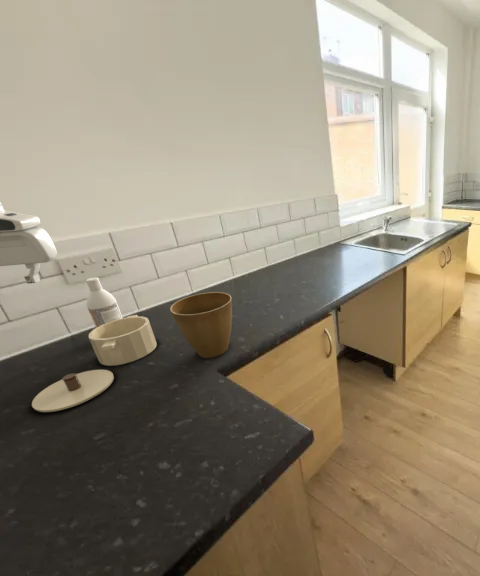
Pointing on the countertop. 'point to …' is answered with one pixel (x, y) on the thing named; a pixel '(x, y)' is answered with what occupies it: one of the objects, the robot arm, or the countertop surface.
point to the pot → (123, 340)
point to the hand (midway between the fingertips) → (6, 285)
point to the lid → (72, 390)
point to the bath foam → (101, 304)
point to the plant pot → (205, 322)
